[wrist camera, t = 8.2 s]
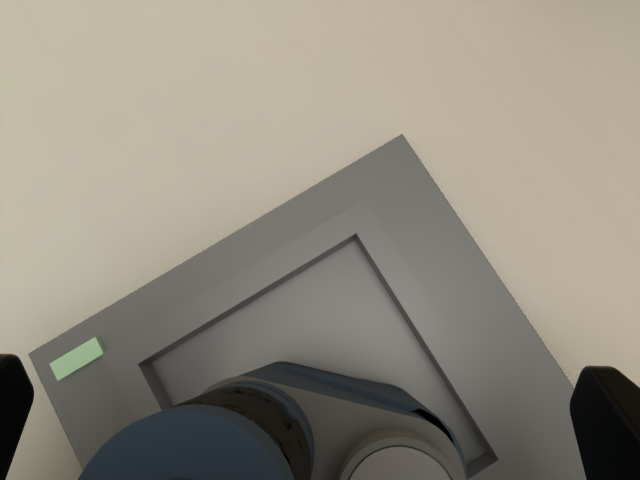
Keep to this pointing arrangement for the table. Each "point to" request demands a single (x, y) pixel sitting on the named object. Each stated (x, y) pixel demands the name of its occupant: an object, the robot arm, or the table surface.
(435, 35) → the table surface
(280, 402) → the vaping device
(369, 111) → the table surface
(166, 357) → the dock
